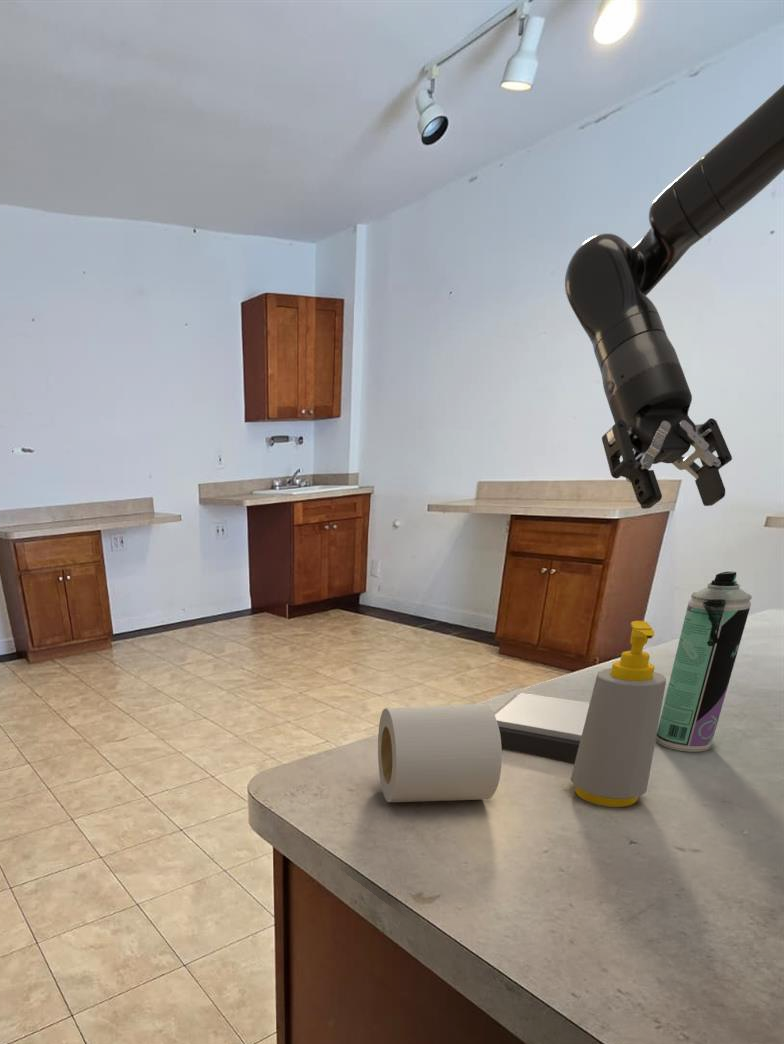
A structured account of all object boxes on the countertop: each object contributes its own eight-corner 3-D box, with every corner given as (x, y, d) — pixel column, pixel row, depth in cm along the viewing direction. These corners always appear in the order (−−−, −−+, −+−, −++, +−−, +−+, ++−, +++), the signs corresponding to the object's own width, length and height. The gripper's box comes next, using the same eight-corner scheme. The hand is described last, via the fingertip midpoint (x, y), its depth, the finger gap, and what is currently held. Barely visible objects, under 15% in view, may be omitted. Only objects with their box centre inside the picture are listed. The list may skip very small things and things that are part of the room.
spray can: (717, 753, 74) (768, 575, 65) (661, 750, 76) (704, 576, 67) (702, 736, 78) (748, 567, 70) (650, 733, 80) (689, 568, 72)
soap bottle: (571, 806, 65) (605, 632, 58) (565, 777, 71) (594, 616, 63) (651, 814, 63) (697, 633, 55) (637, 783, 68) (677, 616, 61)
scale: (645, 733, 80) (651, 709, 79) (620, 772, 71) (626, 746, 70) (512, 711, 90) (515, 689, 89) (475, 743, 81) (478, 720, 80)
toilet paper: (464, 774, 73) (474, 691, 69) (494, 816, 64) (507, 724, 60) (376, 777, 74) (380, 695, 70) (393, 819, 65) (398, 728, 61)
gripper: (616, 360, 72) (658, 484, 69) (721, 359, 75) (767, 479, 71) (570, 411, 80) (606, 525, 76) (668, 409, 82) (707, 520, 79)
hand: (684, 503), depth 74 cm, fingers open, 8 cm apart
